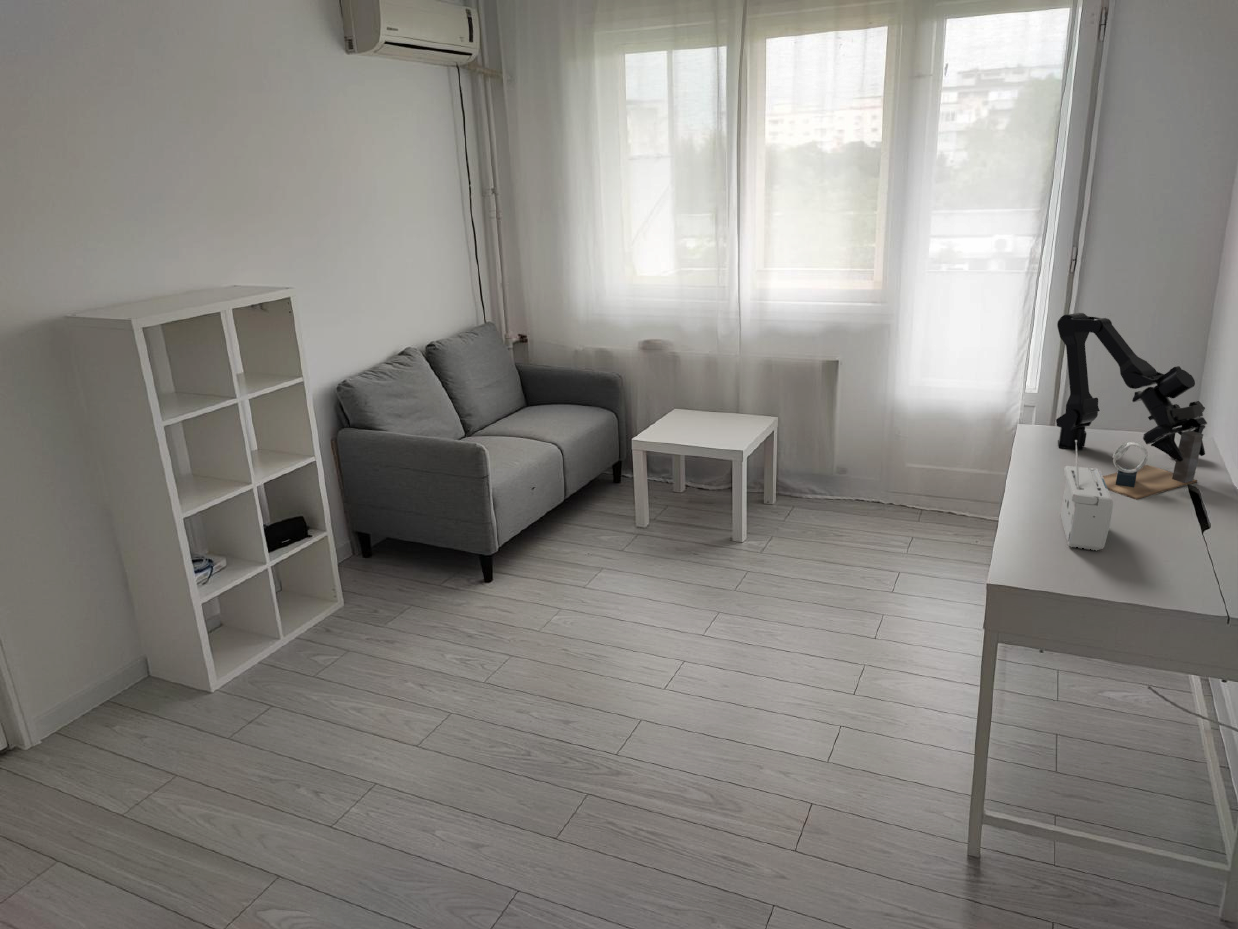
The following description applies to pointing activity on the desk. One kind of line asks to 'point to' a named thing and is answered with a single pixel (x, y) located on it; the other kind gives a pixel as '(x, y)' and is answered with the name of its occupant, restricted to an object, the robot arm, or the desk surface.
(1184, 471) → the pull board
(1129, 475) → the watch
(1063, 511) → the stereo radio cassette player
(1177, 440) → the die
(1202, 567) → the desk surface
